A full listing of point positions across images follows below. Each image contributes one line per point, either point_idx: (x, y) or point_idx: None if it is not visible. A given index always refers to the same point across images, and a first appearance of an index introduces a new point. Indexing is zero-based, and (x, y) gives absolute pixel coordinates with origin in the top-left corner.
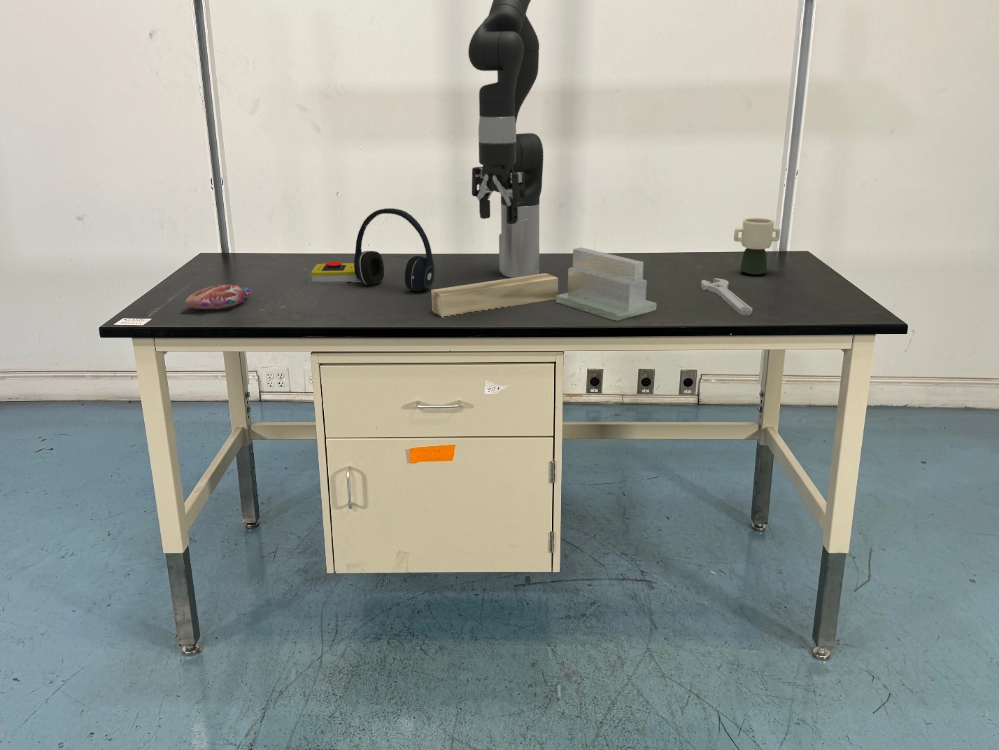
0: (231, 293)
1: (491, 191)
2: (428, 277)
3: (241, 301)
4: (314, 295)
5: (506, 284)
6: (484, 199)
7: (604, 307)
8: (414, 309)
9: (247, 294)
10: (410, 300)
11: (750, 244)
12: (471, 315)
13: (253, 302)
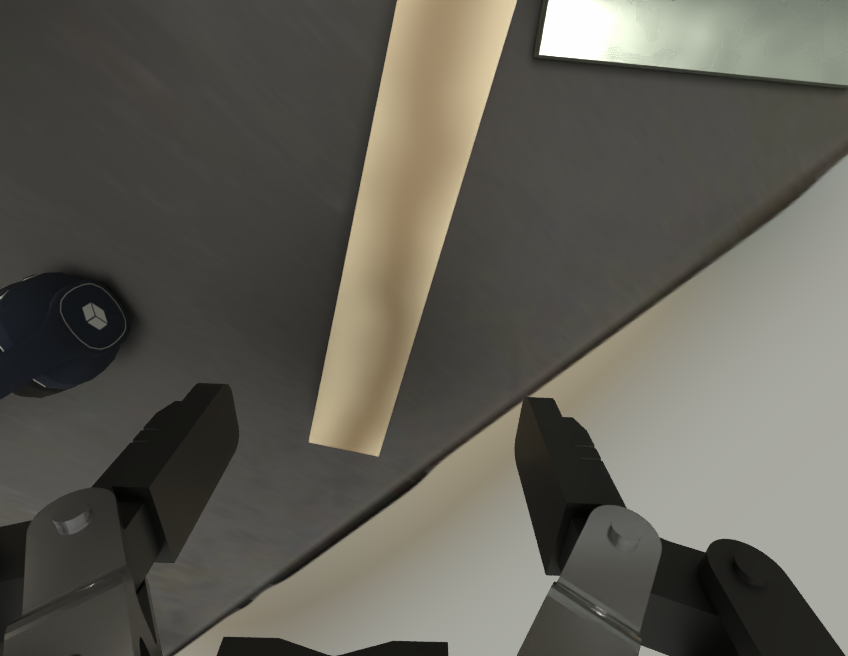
0: None
1: (137, 603)
2: (101, 320)
3: None
4: (18, 500)
5: (425, 246)
6: (147, 547)
7: (798, 46)
8: (277, 419)
9: None
10: (191, 382)
11: None
12: (424, 359)
13: None
